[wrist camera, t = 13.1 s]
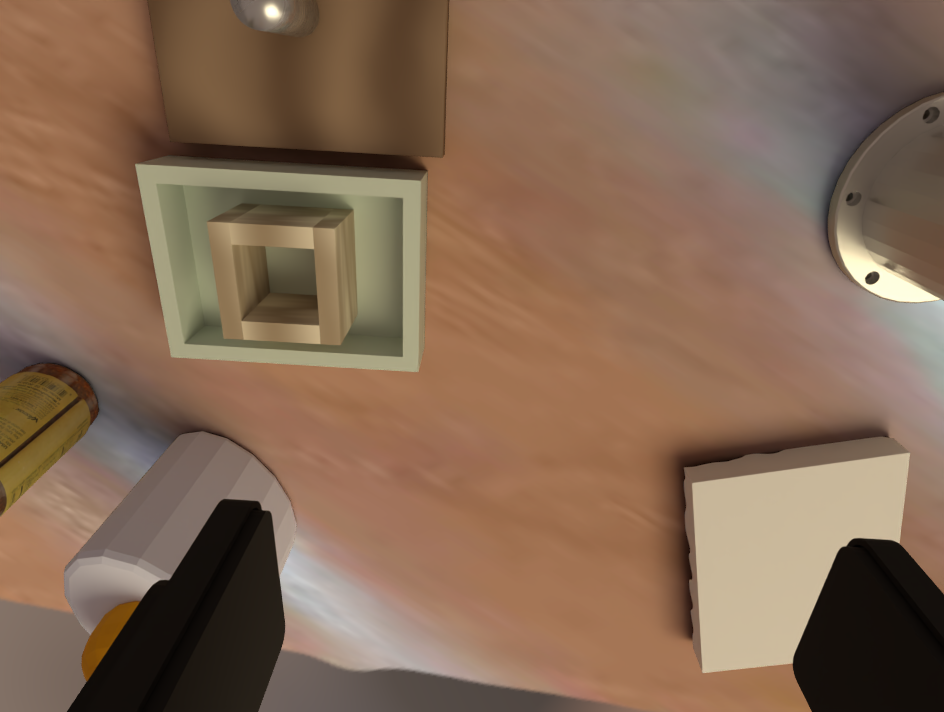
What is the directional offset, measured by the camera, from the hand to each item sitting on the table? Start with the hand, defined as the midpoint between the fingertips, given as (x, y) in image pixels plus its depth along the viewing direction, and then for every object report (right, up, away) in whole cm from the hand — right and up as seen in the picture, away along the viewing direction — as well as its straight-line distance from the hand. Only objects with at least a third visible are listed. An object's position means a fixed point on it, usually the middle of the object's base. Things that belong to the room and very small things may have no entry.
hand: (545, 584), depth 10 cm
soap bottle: (-20, -7, +38) cm, 44 cm away
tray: (-12, +10, +29) cm, 33 cm away
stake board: (-11, +23, +23) cm, 34 cm away
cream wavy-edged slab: (+24, -12, +39) cm, 48 cm away
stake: (-11, +22, +22) cm, 33 cm away
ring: (-12, +10, +28) cm, 32 cm away
